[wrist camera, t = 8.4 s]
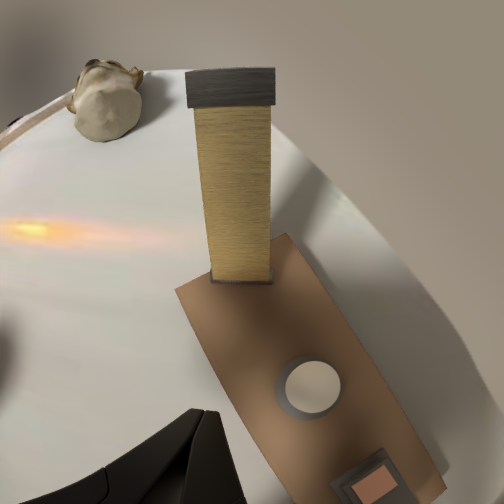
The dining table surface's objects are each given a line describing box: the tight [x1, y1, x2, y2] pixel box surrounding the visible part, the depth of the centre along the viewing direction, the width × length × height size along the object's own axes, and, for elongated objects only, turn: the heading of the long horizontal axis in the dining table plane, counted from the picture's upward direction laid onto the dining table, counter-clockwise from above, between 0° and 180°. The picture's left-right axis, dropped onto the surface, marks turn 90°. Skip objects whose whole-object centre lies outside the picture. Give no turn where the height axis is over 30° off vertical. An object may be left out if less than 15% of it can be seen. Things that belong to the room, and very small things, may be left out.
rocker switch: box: [340, 457, 419, 504], centre depth 10 cm, size 3×5×1 cm, turn 29°
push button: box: [285, 361, 340, 413], centre depth 13 cm, size 3×3×1 cm
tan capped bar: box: [185, 67, 275, 285], centre depth 14 cm, size 2×4×12 cm, turn 87°
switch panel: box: [175, 233, 447, 504], centre depth 15 cm, size 8×21×2 cm, turn 29°
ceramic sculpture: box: [67, 59, 144, 142], centre depth 26 cm, size 11×9×15 cm
